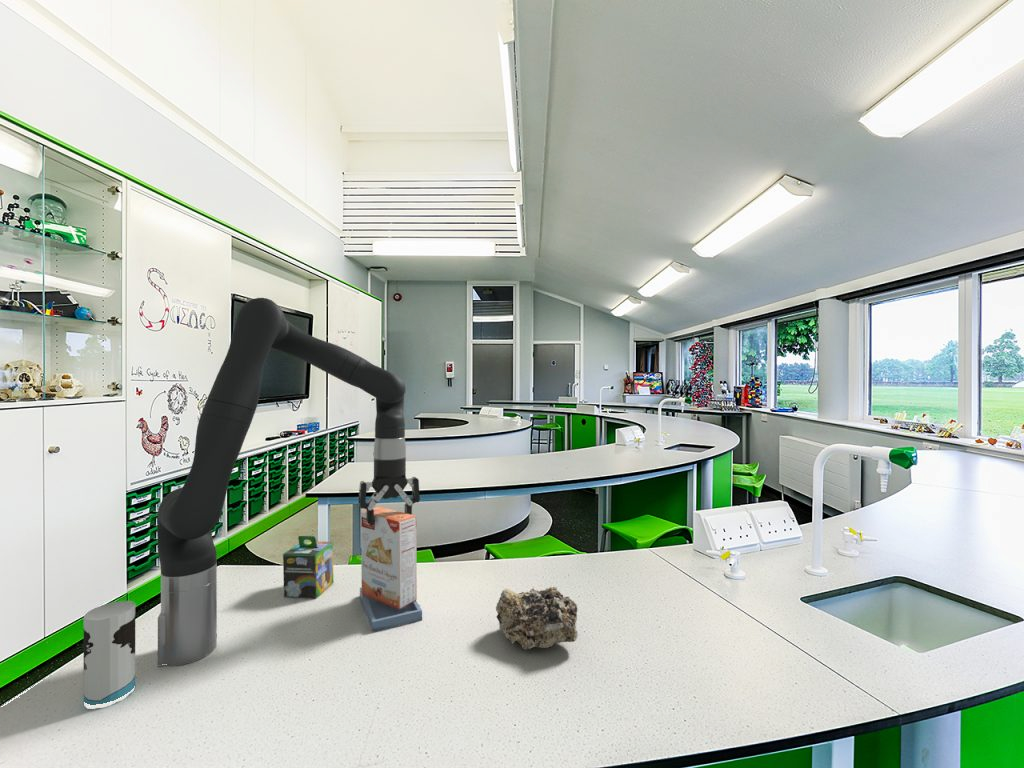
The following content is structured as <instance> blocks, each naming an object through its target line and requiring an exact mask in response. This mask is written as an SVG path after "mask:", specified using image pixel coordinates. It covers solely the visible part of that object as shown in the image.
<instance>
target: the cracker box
mask: <svg viewBox="0 0 1024 768" xmlns="http://www.w3.org/2000/svg"><path fill="white" fill-rule="evenodd" d="M373 510H374V525H372V526H370V524H369V523H368V522H367V520H366V509H364V510H363V511H361V512H360V513H361V515H360V516H361V517H360V519H361V521H360V523H361V525H360V526H361V530H360V531H361V543H360V544H361V547H360V548H361V587H362V594H364V595H366V596H369V597H371V598H373V599H376V600H378V601H380V602H383V603H385V604H387V605H390V606H392V607H394V608H396V609H399V610H400V609H401V608H403V607H405V606H407V605H409V604H410V603H412V602H414V601H417V599H418V598H417V592H418V590H417V588H418V587H417V586H418V585H417V583H418V581H417V579H418V578H417V577H418V576H417V570H418V569H417V565H418V564H417V515H414V514H412V515H411V514H406V513H405V512H402V511H398V510H395V509H392V508H391V509H390V508H386V507H382V506H377V507H374V508H373Z"/></svg>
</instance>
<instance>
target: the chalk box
mask: <svg viewBox="0 0 1024 768" xmlns="http://www.w3.org/2000/svg"><path fill="white" fill-rule="evenodd" d="M297 539H298V544H297V545H294V546H292V547H291V548H290V549H289V550H286V552H283V554H282V558H283V562H282V563H283V564H282V566H283V575H282V576H283V597H284V598H297V599H314V600H315V599H317V598H318V597H320V596H321V594H324V592H325V591H326V590H328V588H330V586H332V585H333V584H334V581H335V580H334V557H333V556H334V554H333V552H334V551H333V544H334V543H333V541H317V540H316V536H314V535H298V538H297ZM306 540H308V541H306Z"/></svg>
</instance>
